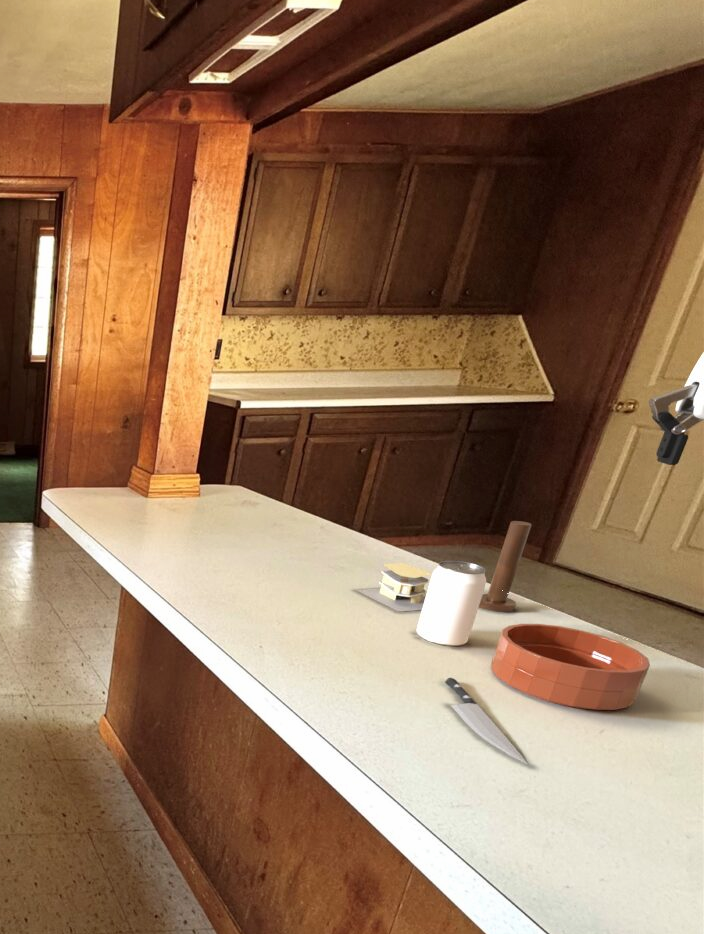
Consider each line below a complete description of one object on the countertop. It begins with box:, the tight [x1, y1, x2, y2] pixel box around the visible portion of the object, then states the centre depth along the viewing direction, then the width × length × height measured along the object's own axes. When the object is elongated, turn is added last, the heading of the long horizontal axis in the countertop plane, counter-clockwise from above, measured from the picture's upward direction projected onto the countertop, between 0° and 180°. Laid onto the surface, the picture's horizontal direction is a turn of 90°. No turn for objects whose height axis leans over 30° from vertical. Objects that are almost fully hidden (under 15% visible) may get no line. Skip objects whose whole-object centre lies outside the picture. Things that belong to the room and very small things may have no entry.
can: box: [416, 560, 487, 647], centre depth 102 cm, size 6×6×12 cm
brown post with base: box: [478, 520, 532, 613], centre depth 112 cm, size 5×5×15 cm
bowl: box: [490, 623, 651, 711], centre depth 89 cm, size 14×14×6 cm
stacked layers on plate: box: [356, 562, 432, 613], centre depth 118 cm, size 10×9×6 cm
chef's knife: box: [444, 677, 529, 765], centre depth 84 cm, size 19×1×3 cm
